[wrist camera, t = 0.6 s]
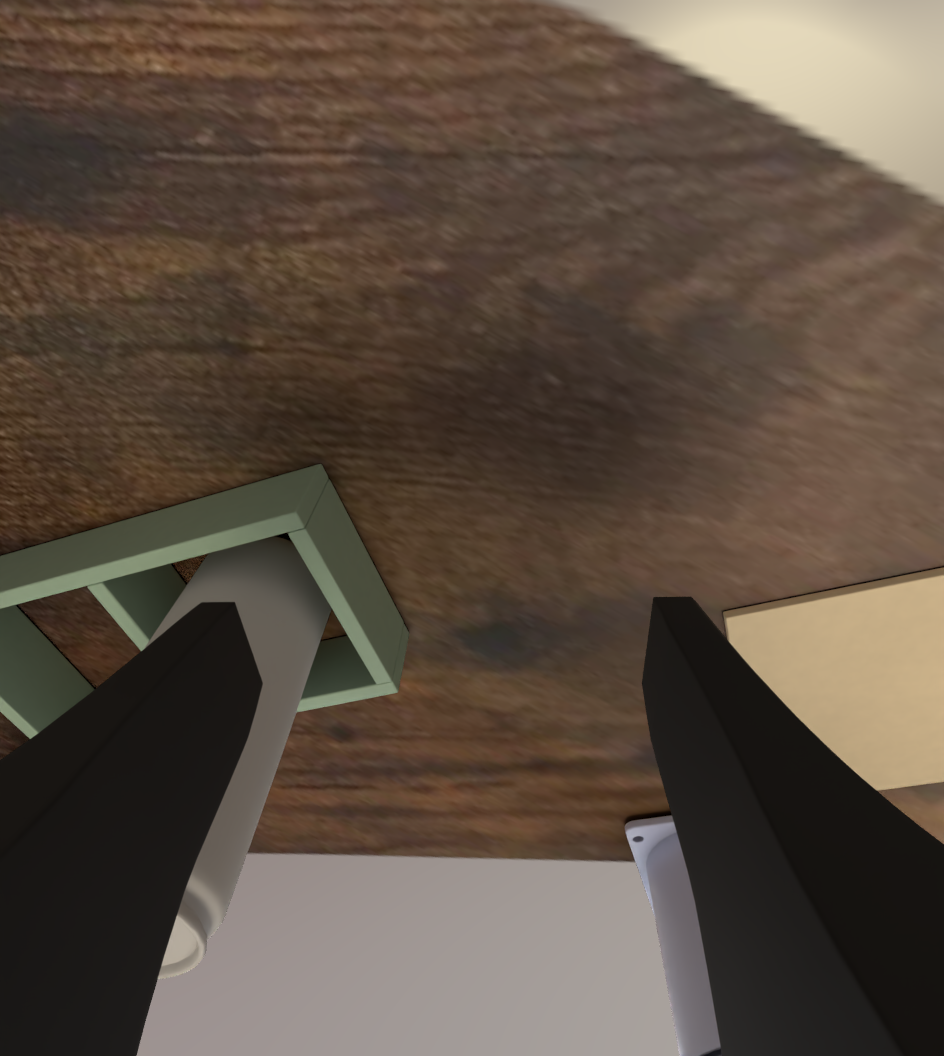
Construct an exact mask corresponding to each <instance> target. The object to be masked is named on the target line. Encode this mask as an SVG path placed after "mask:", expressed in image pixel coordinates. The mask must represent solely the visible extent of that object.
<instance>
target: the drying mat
mask: <svg viewBox="0 0 944 1056" xmlns="http://www.w3.org/2000/svg"><path fill="white" fill-rule="evenodd" d="M723 616H724V623H725V629H726V636H727V640H728V641H729V642H730V644H731V645H732V646H733V647H734V648H735V649H736V651H737V652H738V653H739V654H740V655H741V656H742V658H743V659H744V660H745V661H746V662H747V663H748V664H749V666H750V667H751V668H752V669H753V670H754V671H755V672H756V673H757V674H758V676H759V677H760V678H761V679H762V680H763V681H764V682H765V683H766V684H767V685H768V686H769V687H770V689H771V690H772V691H773V692H774V693H775V694H776V695H777V696H778V697H779V698H780V699H781V700H782V702H783V703H784V704H785V705H786V706H787V707H788V708H789V709H790V710H791V711H792V712H793V713H794V714H795V715H796V716H797V717H798V718H799V719H800V720H801V721H802V722H803V723H804V724H805V725H806V726H807V727H808V728H809V729H810V730H811V731H812V732H813V733H814V734H815V735H816V736H817V737H818V738H819V739H820V740H821V741H822V742H823V743H824V744H825V745H826V746H827V747H829V748H830V749H831V750H832V751H833V752H834V753H835V754H836V755H837V756H838V757H839V758H840V759H841V760H842V761H843V762H845V763H846V764H847V765H848V766H849V767H850V768H851V769H852V770H853V771H854V772H856V773H857V774H858V775H859V776H860V777H861V778H862V779H864V780H865V781H866V782H867V783H868V784H869V785H871V786H872V787H873V788H874V789H875V790H876V791H878V790H885V789H893V788H900V787H907V786H915V785H922V784H930V783H937V782H944V567H943V568H938V569H933V570H928V571H923V572H918V573H913V574H908V575H903V576H898V577H893V578H888V579H883V580H878V581H873V582H868V583H863V584H858V585H853V586H848V587H843V588H838V589H833V590H828V591H823V592H818V593H813V594H808V595H803V596H799V597H794V598H789V599H784V600H779V601H774V602H769V603H764V604H759V605H754V606H749V607H744V608H739V609H734V610H729V611H724V612H723Z"/></svg>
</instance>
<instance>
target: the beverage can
mask: <svg viewBox="0 0 944 1056" xmlns="http://www.w3.org/2000/svg"><path fill="white" fill-rule="evenodd" d="M201 602H235V604H236V607H237V610H238V612H239V615H240V618H241V621H242V624H243V627H244V630H245V633H246V636H247V638H248V641H249V644H250V647H251V650H252V653H253V656H254V659H255V662H256V664H257V667H258V670H259V673H260V676H261V679H262V682H263V686H262V689H261V693H260V697H259V701H258V705H257V709H256V713H255V716H254V719H253V723H252V726H251V730H250V733H249V737H248V739H247V742H246V744H245V747H244V749H243V752H242V754H241V756H240V759H239V761H238V764H237V766H236V768H235V771H234V773H233V776H232V778H231V780H230V783H229V785H228V787H227V790H226V792H225V794H224V797H223V799H222V801H221V804H220V806H219V809H218V811H217V813H216V816H215V818H214V820H213V823H212V825H211V827H210V830H209V832H208V834H207V837H206V839H205V841H204V844H203V846H202V848H201V851H200V853H199V855H198V858H197V860H196V863H195V865H194V868H193V871H192V873H191V876H190V878H189V881H188V884H187V886H186V889H185V892H184V895H183V898H182V901H181V905H180V908H179V911H178V914H177V917H176V920H175V923H174V927H173V930H172V933H171V936H170V939H169V942H168V946H167V949H166V952H165V955H164V959H163V962H162V966H161V969H160V972H159V976H158V979H164V978H168V977H173V976H177V975H181V974H184V973H185V972H187V971H189V970H191V969H193V968H195V967H196V966H197V965H198V964H199V962H200V961H201V960H202V958H203V957H204V955H205V953H206V946H207V939H209V938H210V937H212V935H213V934H214V933H215V931H216V930H217V929H218V927H219V926H220V925H221V923H222V922H223V919H224V917H225V915H226V912H227V909H228V906H229V904H230V901H231V898H232V895H233V892H234V889H235V886H236V884H237V881H238V878H239V875H240V872H241V869H242V867H243V864H244V861H245V858H246V855H247V852H248V850H249V847H250V844H251V841H252V838H253V835H254V833H255V830H256V827H257V824H258V821H259V818H260V815H261V813H262V810H263V807H264V804H265V801H266V798H267V796H268V793H269V790H270V787H271V784H272V781H273V779H274V776H275V773H276V770H277V767H278V764H279V761H280V758H281V756H282V753H283V750H284V747H285V744H286V741H287V738H288V735H289V732H290V729H291V726H292V723H293V720H294V717H295V714H296V711H297V708H298V705H299V702H300V699H301V696H302V693H303V690H304V687H305V684H306V681H307V678H308V675H309V672H310V669H311V666H312V663H313V660H314V658H315V655H316V652H317V649H318V646H319V643H320V640H321V637H322V635H323V632H324V629H325V626H326V623H327V620H328V618H329V615H330V612H331V609H332V608H331V606H330V605H329V603H328V601H327V599H326V598H325V596H324V594H323V593H322V591H321V589H320V588H319V586H318V584H317V583H316V581H315V579H314V577H313V576H312V574H311V572H310V571H309V569H308V567H307V566H306V564H305V562H304V560H303V559H302V557H301V555H300V554H299V552H298V550H297V549H296V547H295V545H294V544H293V542H291V541H289V540H286V539H283V538H279V537H275V536H272V537H268V538H265V539H261V540H257V541H253V542H250V543H246V544H242V545H238V546H234V547H231V548H227V549H223V550H219V551H216V552H212V553H209V554H208V555H207V556H206V558H205V559H204V561H203V562H202V564H201V565H200V567H199V568H198V569H197V571H196V572H195V574H194V575H193V577H192V578H191V580H190V581H189V583H188V584H187V586H186V587H185V589H184V590H183V592H182V593H181V595H180V596H179V598H178V599H177V601H176V602H175V604H174V605H173V607H172V608H171V610H170V611H169V612H168V614H167V615H166V617H165V618H164V620H163V621H162V623H161V624H160V626H159V627H158V629H157V630H156V632H155V633H154V635H153V636H152V638H151V639H150V641H149V642H148V644H147V645H146V647H147V646H148V645H149V644H151V643H152V642H153V641H154V640H155V639H157V638H158V637H159V636H160V635H161V634H163V633H164V632H165V631H166V630H167V629H168V628H170V627H171V626H172V625H173V624H174V623H176V622H177V621H178V620H179V619H181V618H182V617H183V616H184V615H185V614H187V613H188V612H189V611H191V610H192V609H193V608H194V607H196V606H197V605H198V604H200V603H201ZM146 647H145V648H146ZM145 648H144V649H145Z"/></svg>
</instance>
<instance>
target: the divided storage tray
mask: <svg viewBox="0 0 944 1056" xmlns="http://www.w3.org/2000/svg"><path fill="white" fill-rule="evenodd" d="M287 532H288V535H289V537H290V538H291V540H292V542H293V544H294V545H295V547H296V549H297V550H298V552H299V554H300V555H301V557H302V559H303V560H304V562H305V564H306V566H307V567H308V569H309V571H310V572H311V574H312V576H313V577H314V579H315V581H316V583H317V584H318V586H319V588H320V589H321V591H322V593H323V594H324V596H325V598H326V599H327V601H328V603H329V605H330V606H331V608H332V610H333V611H334V613H335V615H336V616H337V618H338V620H339V621H340V623H341V625H342V627H343V628H344V630H345V632H346V633H347V635H348V636H343V637H339V638H334V639H330V640H325V641H321V642H320V643H319V646H318V649H317V652H316V655H315V658H314V660H313V663H312V666H311V669H310V672H309V675H308V678H307V681H306V684H305V687H304V690H303V693H302V696H301V699H300V702H299V705H298V708H297V711H296V712H300V711H306V710H311V709H316V708H321V707H326V706H331V705H336V704H341V703H347V702H352V701H357V700H362V699H367V698H372V697H377V696H382V695H388V694H393V693H397V692H398V690H399V685H400V679H401V674H402V669H403V664H404V658H405V653H406V648H407V643H408V637H409V632H408V630H407V628H406V626H405V624H403V623H404V622H403V620H402V618H401V616H400V614H399V612H398V610H397V608H396V606H395V604H394V603H393V601H392V599H391V597H390V595H389V593H388V591H387V589H386V587H385V585H384V583H383V581H382V579H381V577H380V575H379V574H378V572H377V570H376V568H375V566H374V564H373V562H372V560H371V558H370V556H369V554H368V552H367V550H366V548H365V546H364V545H363V543H362V541H361V539H360V537H359V535H358V533H357V531H356V529H355V527H354V525H353V523H352V521H351V519H350V517H349V516H348V514H347V512H346V510H345V508H344V506H343V504H342V502H341V500H340V498H339V496H338V494H337V492H336V490H335V488H334V487H333V485H332V483H331V481H330V479H328V476H327V474H326V472H325V470H324V468H323V466H322V464H318V465H314V466H311V467H307V468H304V469H300V470H297V471H293V472H290V473H287V474H283V475H280V476H276V477H273V478H269V479H266V480H262V481H259V482H255V483H252V484H248V485H245V486H241V487H238V488H235V489H231V490H228V491H224V492H221V493H217V494H214V495H210V496H207V497H203V498H200V499H196V500H193V501H189V502H186V503H183V504H179V505H176V506H172V507H169V508H165V509H162V510H158V511H155V512H151V513H148V514H144V515H141V516H137V517H134V518H131V519H127V520H124V521H120V522H117V523H113V524H110V525H106V526H103V527H99V528H96V529H92V530H89V531H86V532H82V533H79V534H75V535H72V536H68V537H65V538H61V539H58V540H54V541H51V542H47V543H44V544H40V545H37V546H34V547H30V548H27V549H23V550H20V551H16V552H13V553H9V554H6V555H2V556H0V712H1V713H2V714H4V715H5V716H6V717H7V718H8V719H9V720H10V721H11V722H12V723H13V724H14V725H16V726H17V727H18V728H19V729H20V730H21V731H22V732H23V733H24V734H25V735H26V736H27V737H29V738H30V739H31V738H32V737H34V736H35V735H36V734H38V733H39V732H40V731H42V730H43V729H44V728H46V727H47V726H48V725H50V724H51V723H52V722H53V721H55V720H56V719H57V718H59V717H60V716H61V715H63V714H64V713H65V712H66V711H68V710H69V709H70V708H72V707H73V706H74V705H76V704H77V703H78V702H79V701H81V700H82V699H83V698H85V697H86V696H87V695H89V694H90V693H91V692H92V691H94V690H95V689H94V688H93V687H92V686H91V685H90V684H89V683H88V682H87V681H86V680H85V679H84V677H83V676H82V675H81V674H80V673H79V672H78V671H77V670H76V669H75V668H74V667H73V666H72V665H71V664H70V663H69V661H68V660H67V659H66V658H65V657H64V656H63V655H62V654H61V653H60V652H59V651H58V650H57V649H56V648H55V647H54V646H53V644H52V643H51V642H50V641H49V640H48V639H47V638H46V637H45V636H44V635H43V634H42V633H41V632H40V631H39V630H38V629H37V627H36V626H35V625H34V624H33V623H32V622H31V621H30V620H29V619H28V618H27V617H26V616H25V615H24V614H23V613H22V612H21V610H20V609H19V608H18V607H17V606H16V604H20V603H24V602H27V601H31V600H35V599H39V598H42V597H46V596H50V595H54V594H58V593H61V592H65V591H69V590H73V589H76V588H80V587H84V586H88V589H89V590H90V591H91V592H92V594H93V595H94V596H95V597H96V598H97V599H98V601H99V602H100V603H101V604H102V605H103V607H104V608H105V609H106V610H107V611H108V613H109V614H110V615H111V616H112V617H113V618H114V620H115V621H116V622H117V623H118V624H119V626H120V627H121V628H122V629H123V630H124V631H125V633H126V634H127V635H128V636H129V637H130V639H131V640H132V641H133V642H134V643H135V645H136V646H137V647H138V648H139V649H140V650H141V651H142V650H144V648H145V647H146V645H147V644H148V642H149V641H150V639H151V638H152V636H153V635H154V633H155V632H156V630H157V629H158V627H159V626H160V624H161V623H162V621H163V620H164V618H165V617H166V615H167V614H168V612H169V611H170V610H171V608H172V607H173V605H174V604H175V602H176V601H177V599H178V598H179V596H180V595H181V593H182V592H183V590H184V589H185V587H186V586H187V585H186V584H185V583H184V581H183V580H182V579H181V577H180V576H179V574H178V573H177V572H176V570H175V569H174V568H173V566H172V565H171V564H170V563H174V562H178V561H182V560H186V559H189V558H193V557H197V556H201V555H204V554H208V553H212V552H216V551H219V550H223V549H227V548H231V547H234V546H238V545H242V544H246V543H250V542H253V541H257V540H261V539H265V538H268V537H272V536H276V535H280V534H283V533H287Z"/></svg>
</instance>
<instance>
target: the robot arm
mask: <svg viewBox="0 0 944 1056" xmlns="http://www.w3.org/2000/svg"><path fill="white" fill-rule="evenodd" d="M262 686H263V682H262V679H261V676H260V673H259V670H258V667H257V664H256V662H255V659H254V656H253V653H252V650H251V647H250V644H249V641H248V638H247V636H246V633H245V630H244V627H243V624H242V621H241V618H240V615H239V612H238V610H237V607H236V604H235V602H201V603H200V604H198V605H197V606H196V607H194V608H193V609H192V610H191V611H189V612H188V613H187V614H185V615H184V616H183V617H182V618H181V619H179V620H178V621H177V622H176V623H174V624H173V625H172V626H171V627H170V628H168V629H167V630H166V631H165V632H164V633H163V634H161V635H160V636H159V637H158V638H157V639H155V640H154V641H153V642H152V643H151V644H149V645H148V646H147V647H146V648H145V649H144V650H142V651H141V652H140V653H139V654H138V655H136V656H135V657H134V658H133V659H131V660H130V661H129V662H128V663H127V664H125V665H124V666H123V667H122V668H121V669H119V670H118V671H117V672H116V673H115V674H113V675H112V676H111V677H110V678H108V679H107V680H106V681H105V682H104V683H102V684H101V685H100V686H99V687H98V688H96V689H95V690H94V691H92V692H91V693H90V694H89V695H87V696H86V697H85V698H83V699H82V700H81V701H79V702H78V703H77V704H76V705H74V706H73V707H72V708H70V709H69V710H68V711H66V712H65V713H64V714H63V715H61V716H60V717H59V718H57V719H56V720H55V721H53V722H52V723H51V724H50V725H48V726H47V727H46V728H44V729H43V730H42V731H40V732H39V733H38V734H36V735H35V736H34V737H32V738H31V739H30V740H28V741H27V742H25V743H24V744H23V745H21V746H20V747H18V748H17V749H16V750H14V751H13V752H11V753H10V754H8V755H7V756H6V757H4V758H3V759H1V760H0V1056H136V1055H137V1051H138V1047H139V1043H140V1040H141V1036H142V1032H143V1028H144V1025H145V1021H146V1017H147V1014H148V1010H149V1006H150V1003H151V1000H152V997H153V993H154V990H155V986H156V982H157V979H158V976H159V972H160V969H161V966H162V962H163V959H164V955H165V952H166V949H167V946H168V942H169V939H170V936H171V933H172V930H173V927H174V923H175V920H176V917H177V914H178V911H179V908H180V905H181V901H182V898H183V895H184V892H185V889H186V886H187V884H188V881H189V878H190V876H191V873H192V871H193V868H194V865H195V863H196V860H197V858H198V855H199V853H200V851H201V848H202V846H203V844H204V841H205V839H206V837H207V834H208V832H209V830H210V827H211V825H212V823H213V820H214V818H215V816H216V813H217V811H218V809H219V806H220V804H221V801H222V799H223V797H224V794H225V792H226V790H227V787H228V785H229V783H230V780H231V778H232V776H233V773H234V771H235V768H236V766H237V764H238V761H239V759H240V756H241V754H242V752H243V749H244V747H245V744H246V742H247V739H248V737H249V733H250V730H251V726H252V723H253V719H254V716H255V713H256V709H257V705H258V701H259V697H260V693H261V689H262ZM642 686H643V693H644V699H645V706H646V713H647V719H648V725H649V731H650V737H651V742H652V745H653V749H654V753H655V756H656V760H657V764H658V767H659V771H660V775H661V778H662V782H663V785H664V789H665V793H666V796H667V800H668V803H669V807H670V810H671V814H672V815H670V816H663V817H655V818H648V819H640V820H633V821H630V822H628V823H627V824H626V825H625V832H626V836H627V839H628V842H629V845H630V848H631V850H632V853H633V856H634V859H635V862H636V864H637V868H638V870H639V873H640V876H641V879H642V882H643V885H644V888H645V890H646V893H647V896H648V899H649V902H650V905H651V908H652V911H653V913H654V916H655V920H656V926H657V932H658V937H659V943H660V948H661V953H662V959H663V965H664V970H665V976H666V982H667V988H668V993H669V999H670V1004H671V1010H672V1016H673V1021H674V1027H675V1033H676V1038H677V1044H678V1049H679V1055H680V1056H944V844H943V843H941V842H940V841H939V840H937V839H936V838H935V837H933V836H932V835H931V834H929V833H928V832H927V831H925V830H924V829H923V828H921V827H920V826H919V825H918V824H916V823H915V822H914V821H913V820H911V819H910V818H909V817H908V816H906V815H905V814H904V813H903V812H901V811H900V810H899V809H898V808H896V807H895V806H894V805H893V804H892V803H890V802H889V801H888V800H887V799H886V798H885V797H883V796H882V795H881V794H880V793H879V792H878V791H876V790H875V789H874V788H873V787H872V786H871V785H869V784H868V783H867V782H866V781H865V780H864V779H862V778H861V777H860V776H859V775H858V774H857V773H856V772H854V771H853V770H852V769H851V768H850V767H849V766H848V765H847V764H846V763H845V762H843V761H842V760H841V759H840V758H839V757H838V756H837V755H836V754H835V753H834V752H833V751H832V750H831V749H830V748H829V747H827V746H826V745H825V744H824V743H823V742H822V741H821V740H820V739H819V738H818V737H817V736H816V735H815V734H814V733H813V732H812V731H811V730H810V729H809V728H808V727H807V726H806V725H805V724H804V723H803V722H802V721H801V720H800V719H799V718H798V717H797V716H796V715H795V714H794V713H793V712H792V711H791V710H790V709H789V708H788V707H787V706H786V705H785V704H784V703H783V702H782V700H781V699H780V698H779V697H778V696H777V695H776V694H775V693H774V692H773V691H772V690H771V689H770V687H769V686H768V685H767V684H766V683H765V682H764V681H763V680H762V679H761V678H760V677H759V676H758V674H757V673H756V672H755V671H754V670H753V669H752V668H751V667H750V666H749V664H748V663H747V662H746V661H745V660H744V659H743V658H742V656H741V655H740V654H739V653H738V652H737V651H736V649H735V648H734V647H733V646H732V645H731V644H730V642H729V641H728V640H727V639H726V638H725V636H724V635H723V634H722V633H721V632H720V630H719V629H718V628H717V627H716V626H715V624H714V623H713V622H712V621H711V619H710V618H709V617H708V616H707V615H706V613H705V612H704V611H703V610H702V608H701V607H700V606H699V605H698V603H697V602H696V601H695V600H694V599H693V598H692V597H653V604H652V612H651V619H650V627H649V634H648V642H647V649H646V657H645V664H644V672H643V680H642Z"/></svg>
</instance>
